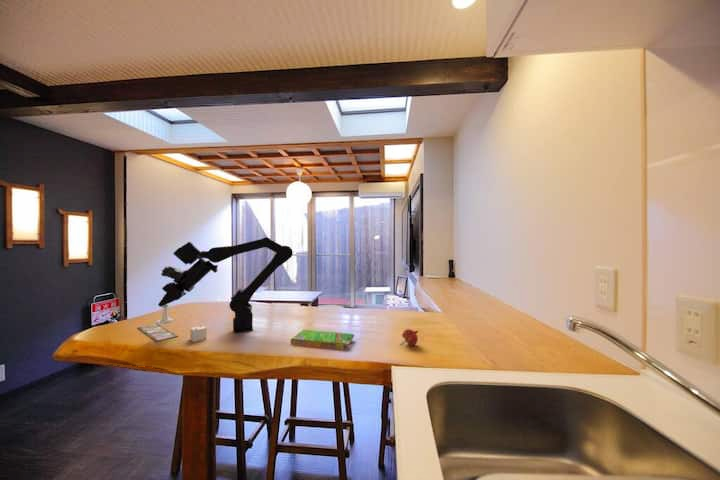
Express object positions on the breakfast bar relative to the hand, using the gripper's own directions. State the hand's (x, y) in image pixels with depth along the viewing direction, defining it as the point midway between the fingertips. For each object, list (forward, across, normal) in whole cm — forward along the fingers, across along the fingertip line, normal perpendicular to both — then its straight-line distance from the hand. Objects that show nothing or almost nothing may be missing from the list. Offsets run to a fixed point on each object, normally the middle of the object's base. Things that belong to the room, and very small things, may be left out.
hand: (160, 305), depth 94 cm
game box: (-30, +23, +48) cm, 61 cm away
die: (-1, +6, +18) cm, 19 cm away
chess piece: (+4, 0, +6) cm, 7 cm away
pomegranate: (-49, +36, +66) cm, 90 cm away
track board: (+10, -7, +6) cm, 14 cm away
